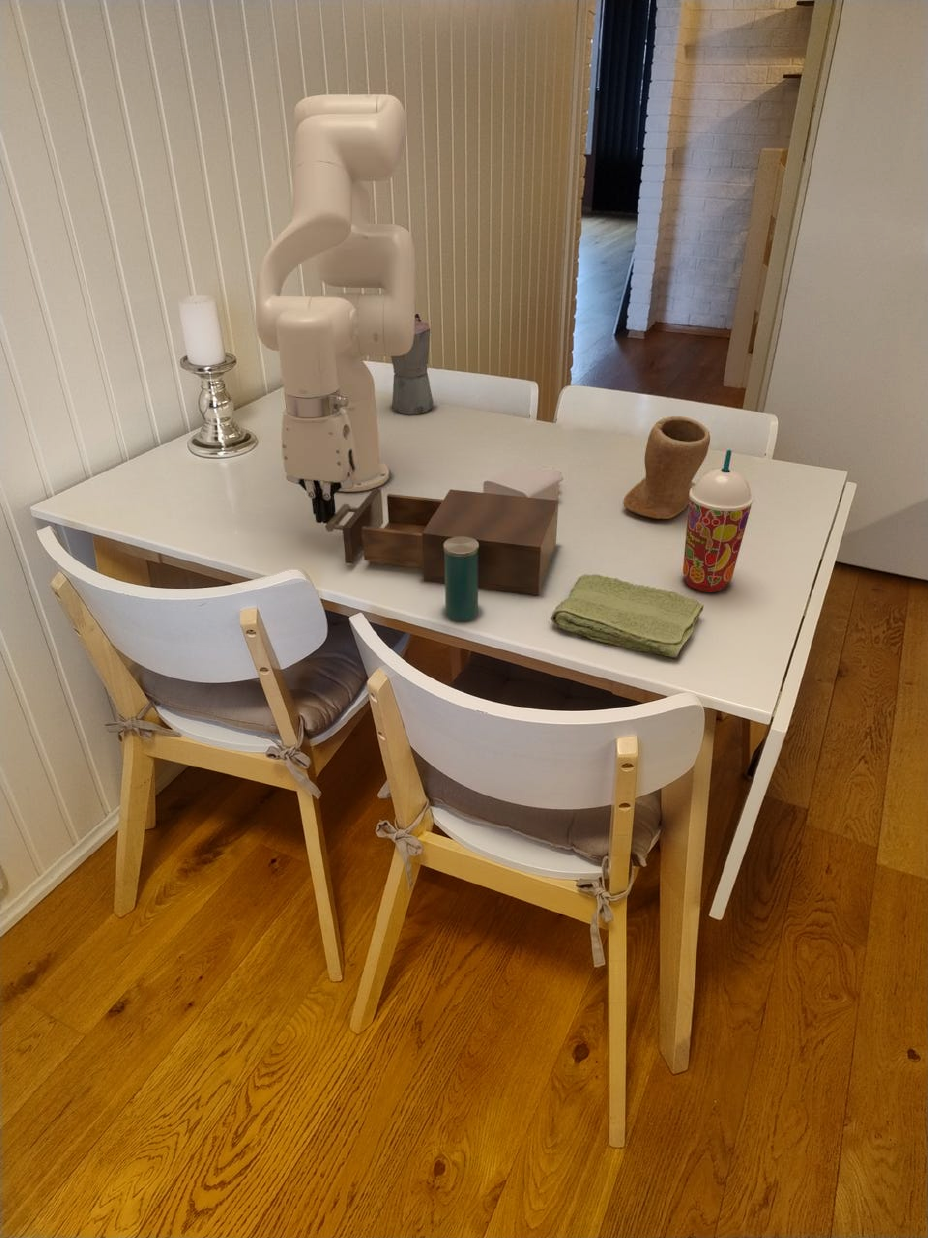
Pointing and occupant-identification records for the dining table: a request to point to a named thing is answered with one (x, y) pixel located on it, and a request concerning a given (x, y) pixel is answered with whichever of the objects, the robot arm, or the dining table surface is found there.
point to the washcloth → (628, 615)
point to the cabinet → (495, 538)
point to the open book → (525, 483)
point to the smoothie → (715, 527)
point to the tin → (461, 578)
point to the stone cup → (669, 467)
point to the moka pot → (413, 374)
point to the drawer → (386, 528)
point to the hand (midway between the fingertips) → (325, 519)
